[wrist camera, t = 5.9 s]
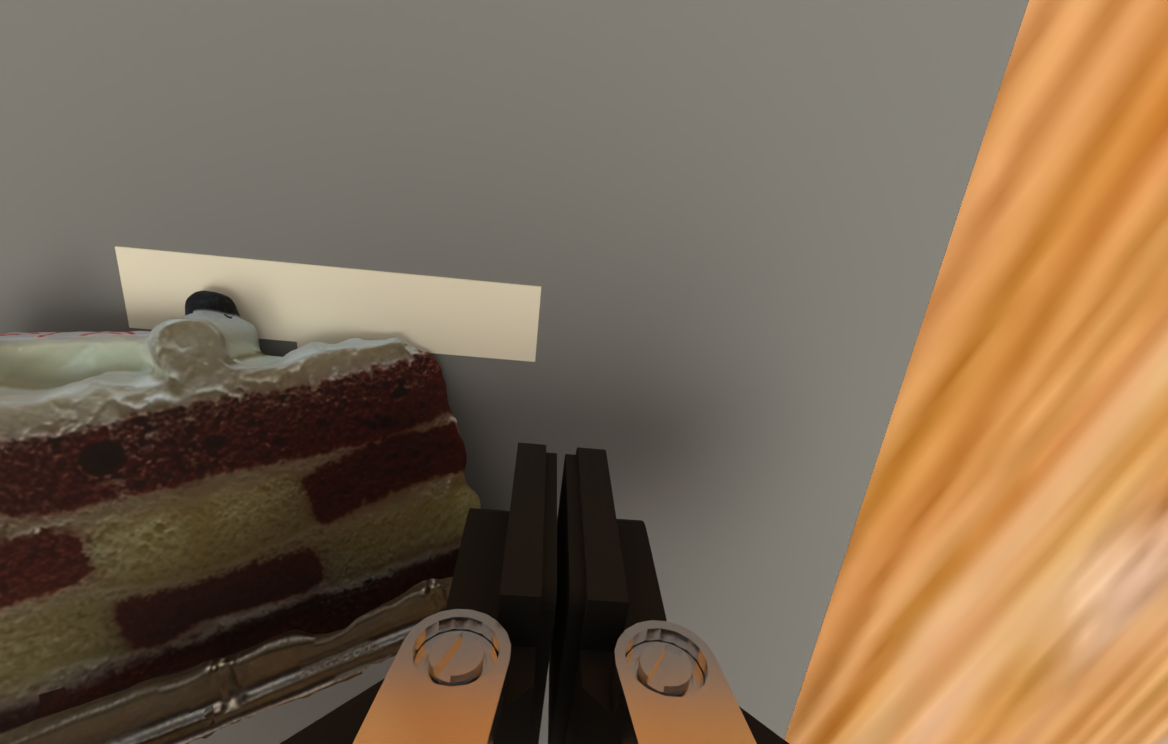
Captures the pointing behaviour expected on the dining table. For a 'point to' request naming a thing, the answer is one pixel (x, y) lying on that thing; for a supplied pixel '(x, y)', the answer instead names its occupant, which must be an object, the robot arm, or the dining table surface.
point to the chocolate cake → (212, 522)
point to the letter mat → (537, 240)
